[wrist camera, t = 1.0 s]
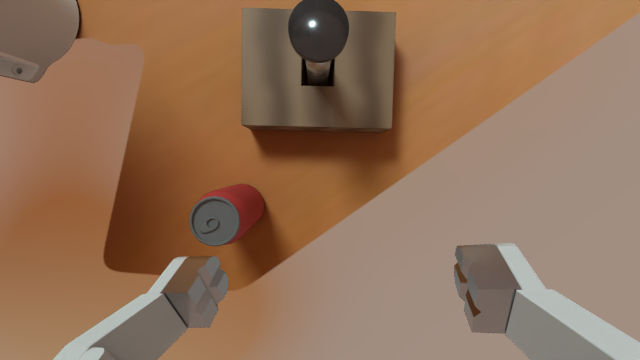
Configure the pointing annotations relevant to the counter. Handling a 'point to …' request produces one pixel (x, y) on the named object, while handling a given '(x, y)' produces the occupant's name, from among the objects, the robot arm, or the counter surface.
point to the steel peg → (318, 36)
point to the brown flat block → (317, 101)
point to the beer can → (226, 214)
